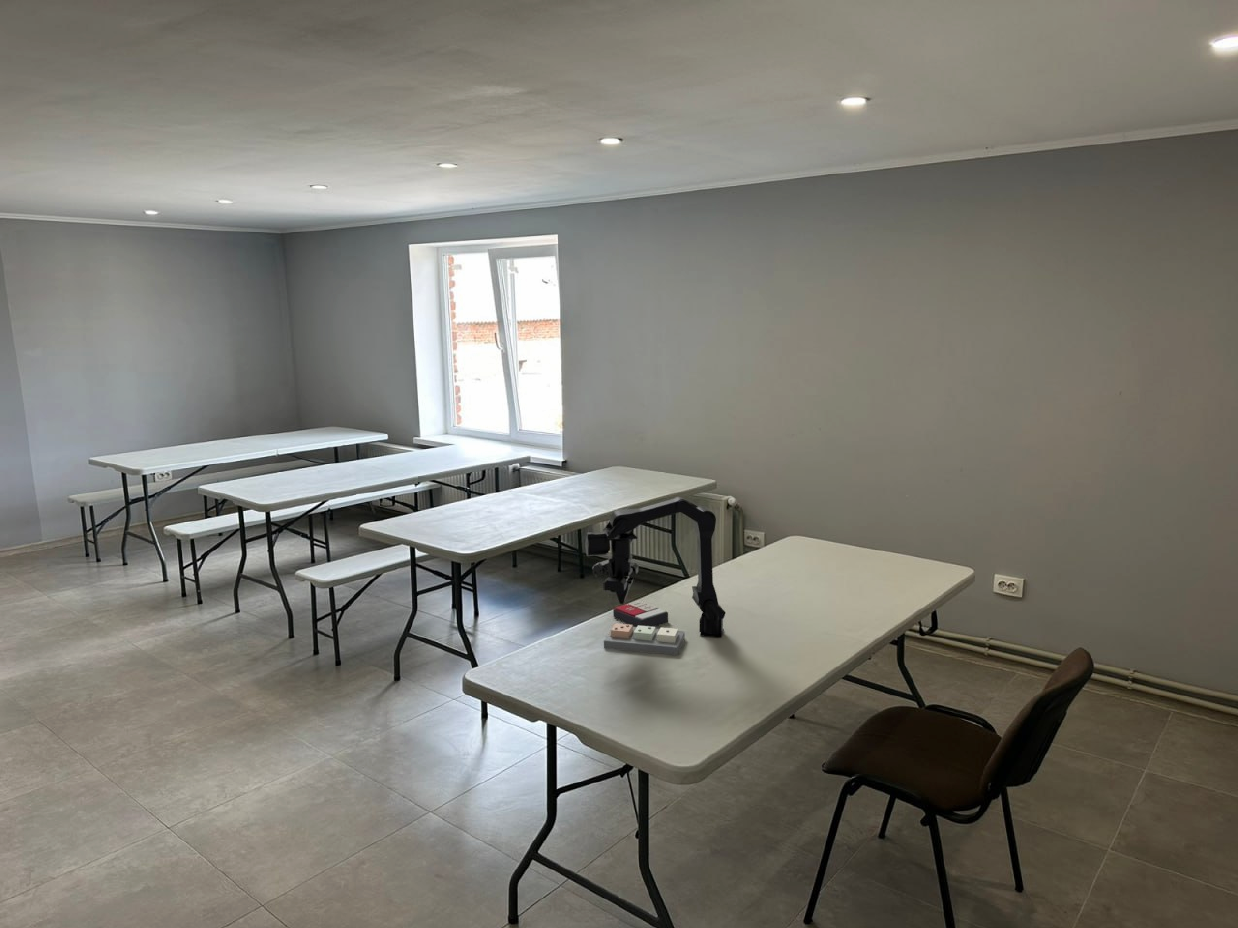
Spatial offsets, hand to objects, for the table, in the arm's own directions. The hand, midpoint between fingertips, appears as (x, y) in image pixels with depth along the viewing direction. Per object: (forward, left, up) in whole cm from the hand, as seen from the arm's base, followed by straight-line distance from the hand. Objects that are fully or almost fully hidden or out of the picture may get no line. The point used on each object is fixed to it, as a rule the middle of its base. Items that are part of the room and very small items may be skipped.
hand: (621, 603), depth 239 cm
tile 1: (-14, 0, -10) cm, 17 cm away
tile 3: (0, 0, -10) cm, 10 cm away
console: (-7, 0, -12) cm, 14 cm away
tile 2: (-7, 0, -10) cm, 12 cm away
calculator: (-1, -18, -13) cm, 22 cm away
